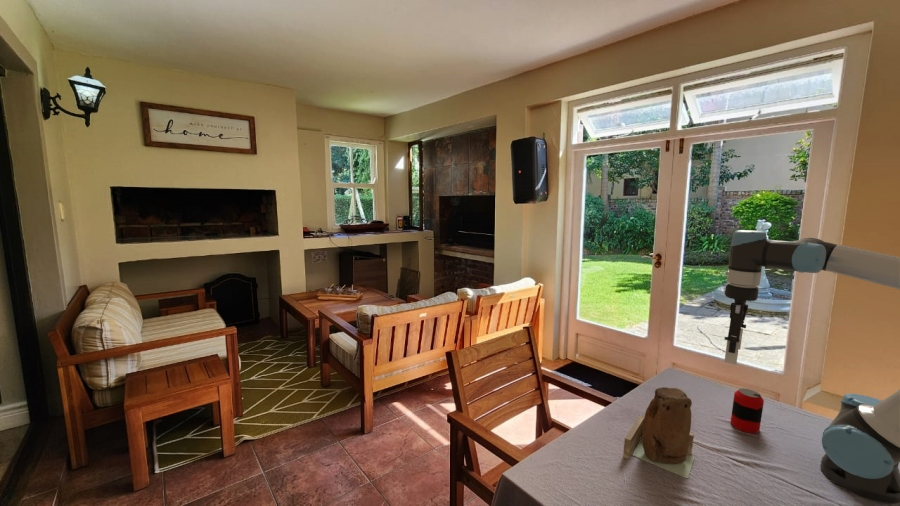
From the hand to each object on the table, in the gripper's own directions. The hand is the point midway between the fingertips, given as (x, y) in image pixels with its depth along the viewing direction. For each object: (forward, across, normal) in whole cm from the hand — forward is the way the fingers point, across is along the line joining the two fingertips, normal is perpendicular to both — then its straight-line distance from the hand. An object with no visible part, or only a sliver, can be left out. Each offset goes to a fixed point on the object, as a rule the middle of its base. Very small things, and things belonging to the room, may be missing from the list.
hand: (732, 355), depth 112 cm
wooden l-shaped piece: (+29, +18, -13) cm, 36 cm away
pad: (+29, +18, -12) cm, 36 cm away
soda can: (+29, -16, +5) cm, 33 cm away
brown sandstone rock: (+29, +19, -12) cm, 36 cm away
